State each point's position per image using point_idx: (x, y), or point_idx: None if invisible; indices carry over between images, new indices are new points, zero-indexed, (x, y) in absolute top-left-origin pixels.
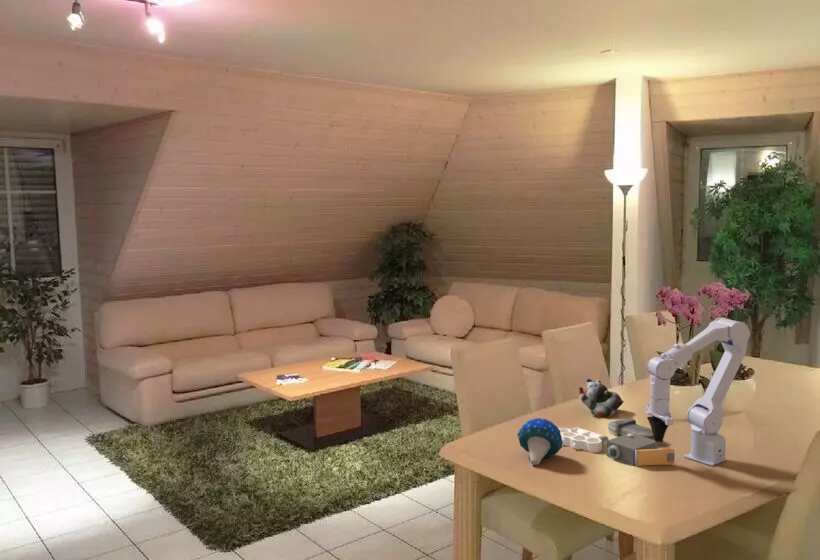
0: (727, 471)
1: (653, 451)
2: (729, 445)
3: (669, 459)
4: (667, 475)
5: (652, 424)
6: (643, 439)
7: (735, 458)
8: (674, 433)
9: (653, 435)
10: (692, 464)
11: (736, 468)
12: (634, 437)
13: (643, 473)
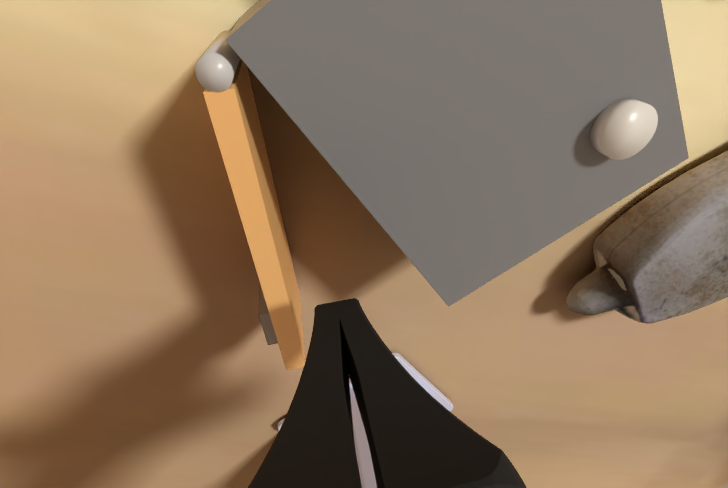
0: (222, 454)
1: (248, 234)
2: None
3: (259, 295)
4: (77, 225)
5: (341, 450)
6: (511, 218)
7: None
8: (674, 357)
9: (356, 328)
10: None
11: None
12: (580, 156)
13: (58, 58)
